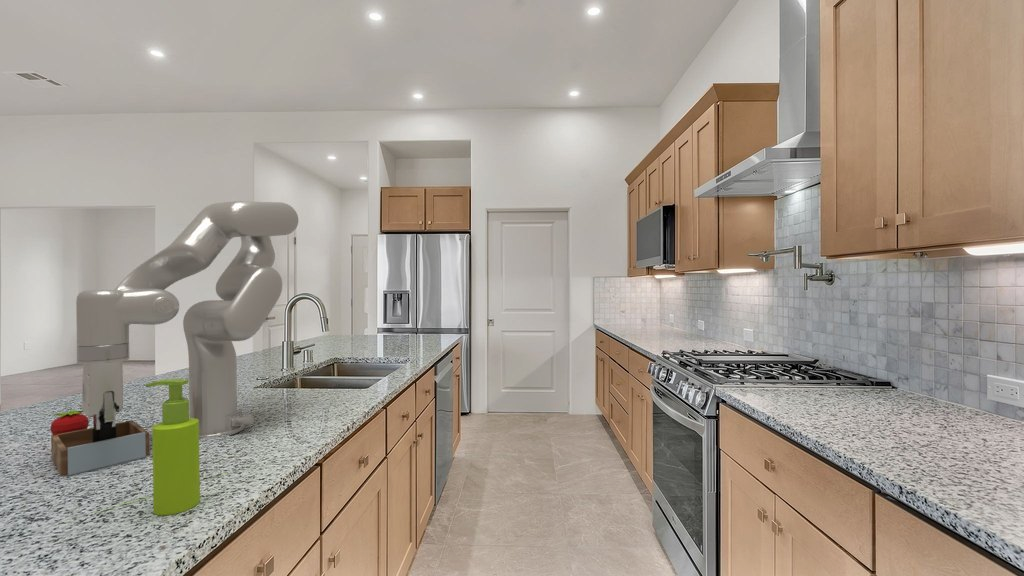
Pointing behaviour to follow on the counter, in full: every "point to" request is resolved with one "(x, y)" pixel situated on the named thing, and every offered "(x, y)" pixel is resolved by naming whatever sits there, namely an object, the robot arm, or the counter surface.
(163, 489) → the soap dispenser
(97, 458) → the panel
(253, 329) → the robot arm
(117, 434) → the crate
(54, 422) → the strawberry
